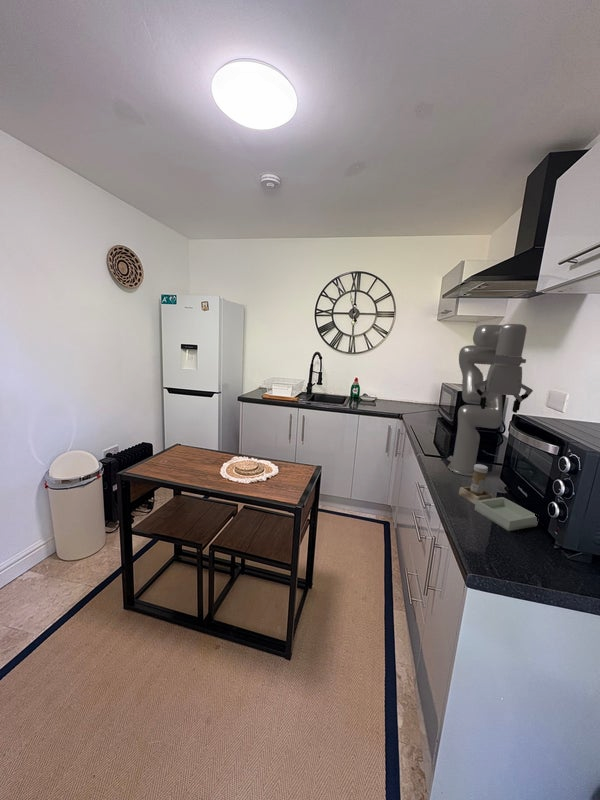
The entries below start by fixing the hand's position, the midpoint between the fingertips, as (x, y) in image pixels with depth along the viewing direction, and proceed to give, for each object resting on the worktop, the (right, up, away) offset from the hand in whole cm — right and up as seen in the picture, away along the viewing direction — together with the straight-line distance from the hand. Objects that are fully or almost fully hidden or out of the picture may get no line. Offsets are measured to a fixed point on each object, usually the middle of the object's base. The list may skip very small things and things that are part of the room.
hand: (498, 410), depth 108 cm
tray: (+1, -37, -2) cm, 37 cm away
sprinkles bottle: (-2, -35, +11) cm, 36 cm away
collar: (-2, -35, +11) cm, 36 cm away
